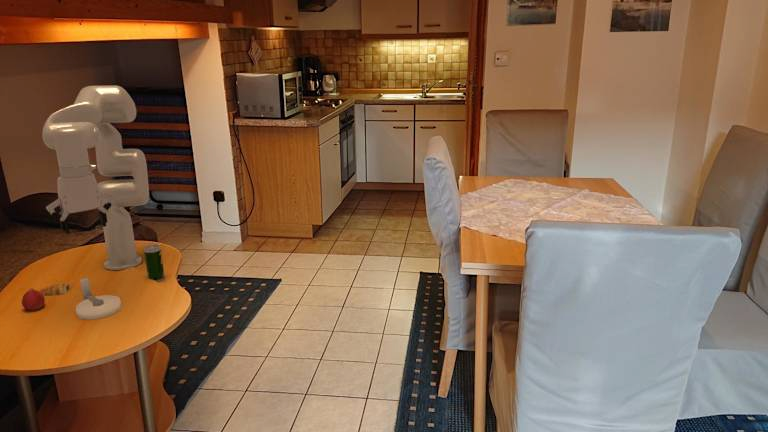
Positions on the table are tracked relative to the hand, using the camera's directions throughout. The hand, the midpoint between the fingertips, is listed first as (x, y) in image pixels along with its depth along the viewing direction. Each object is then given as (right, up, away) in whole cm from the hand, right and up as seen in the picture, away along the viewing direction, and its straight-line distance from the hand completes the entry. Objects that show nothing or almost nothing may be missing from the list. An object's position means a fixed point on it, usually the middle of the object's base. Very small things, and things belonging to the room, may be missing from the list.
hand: (85, 229), depth 157 cm
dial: (-1, -24, +8) cm, 25 cm away
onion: (-20, -25, +8) cm, 33 cm away
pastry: (-20, -22, +19) cm, 36 cm away
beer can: (+8, -18, +31) cm, 37 cm away
